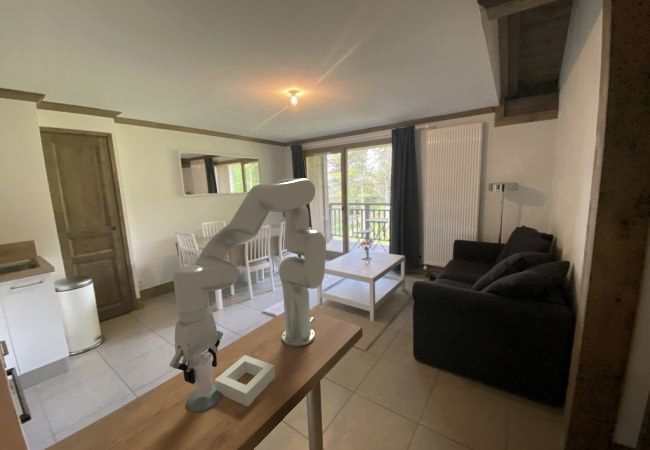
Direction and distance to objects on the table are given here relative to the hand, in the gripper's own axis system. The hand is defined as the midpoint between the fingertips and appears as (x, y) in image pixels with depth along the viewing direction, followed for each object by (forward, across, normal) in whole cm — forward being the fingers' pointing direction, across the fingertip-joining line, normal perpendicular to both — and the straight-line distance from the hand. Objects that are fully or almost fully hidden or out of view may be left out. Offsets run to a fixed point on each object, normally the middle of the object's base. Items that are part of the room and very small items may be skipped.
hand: (201, 372), depth 74 cm
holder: (+8, -9, +7) cm, 14 cm away
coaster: (+8, 0, 0) cm, 8 cm away
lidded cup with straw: (+6, 0, 0) cm, 6 cm away
